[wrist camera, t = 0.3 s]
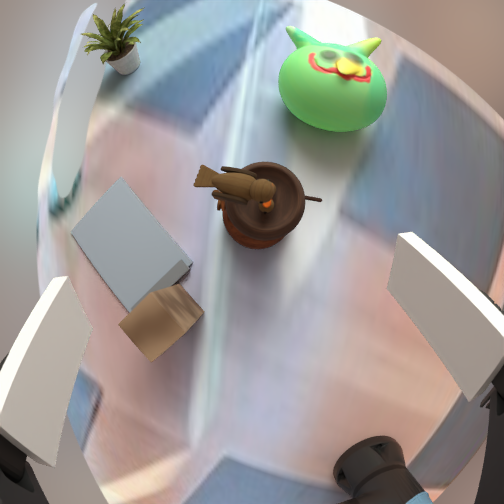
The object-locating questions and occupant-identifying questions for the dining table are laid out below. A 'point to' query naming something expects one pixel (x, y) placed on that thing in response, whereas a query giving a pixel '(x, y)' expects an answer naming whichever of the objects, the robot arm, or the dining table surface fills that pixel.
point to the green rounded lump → (332, 83)
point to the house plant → (117, 42)
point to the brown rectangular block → (161, 320)
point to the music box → (257, 201)
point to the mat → (129, 246)
